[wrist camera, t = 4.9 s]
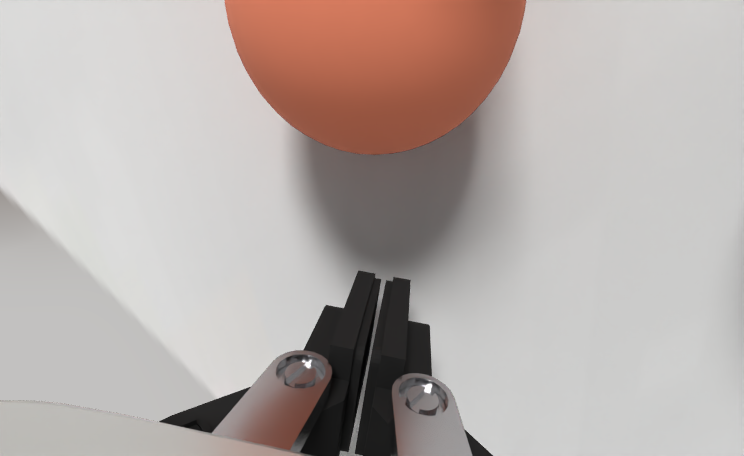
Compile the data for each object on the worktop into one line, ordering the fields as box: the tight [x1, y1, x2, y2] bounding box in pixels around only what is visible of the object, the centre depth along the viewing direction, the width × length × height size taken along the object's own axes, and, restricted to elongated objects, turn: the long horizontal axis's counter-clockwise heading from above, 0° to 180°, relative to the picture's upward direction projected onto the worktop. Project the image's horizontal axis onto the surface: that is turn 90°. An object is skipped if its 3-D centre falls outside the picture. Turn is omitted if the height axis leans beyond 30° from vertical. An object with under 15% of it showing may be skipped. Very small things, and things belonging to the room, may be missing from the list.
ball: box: [225, 0, 526, 155], centre depth 8 cm, size 6×6×6 cm
